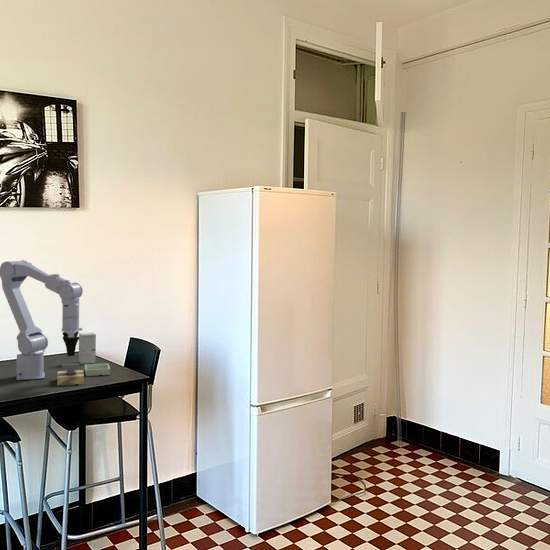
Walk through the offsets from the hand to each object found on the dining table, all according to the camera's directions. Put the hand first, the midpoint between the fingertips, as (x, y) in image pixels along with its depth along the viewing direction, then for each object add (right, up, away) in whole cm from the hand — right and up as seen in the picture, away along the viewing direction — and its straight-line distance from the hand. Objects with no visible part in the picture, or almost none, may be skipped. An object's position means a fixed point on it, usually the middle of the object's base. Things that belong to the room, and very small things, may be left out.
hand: (70, 353), depth 214 cm
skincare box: (-4, -8, +31) cm, 32 cm away
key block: (0, -10, +1) cm, 10 cm away
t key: (0, -10, +1) cm, 10 cm away
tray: (+5, -9, +14) cm, 18 cm away
